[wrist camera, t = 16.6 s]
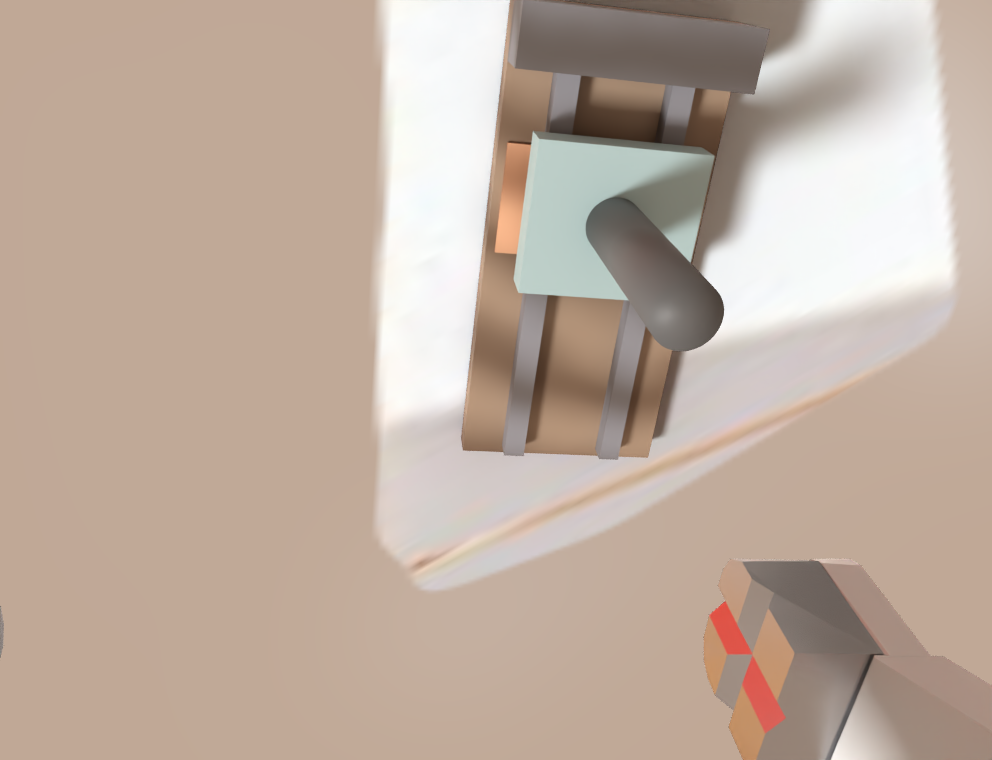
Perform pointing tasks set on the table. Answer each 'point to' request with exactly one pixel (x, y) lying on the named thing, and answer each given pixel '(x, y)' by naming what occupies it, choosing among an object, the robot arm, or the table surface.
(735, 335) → the table surface
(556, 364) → the rail board
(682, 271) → the carriage
